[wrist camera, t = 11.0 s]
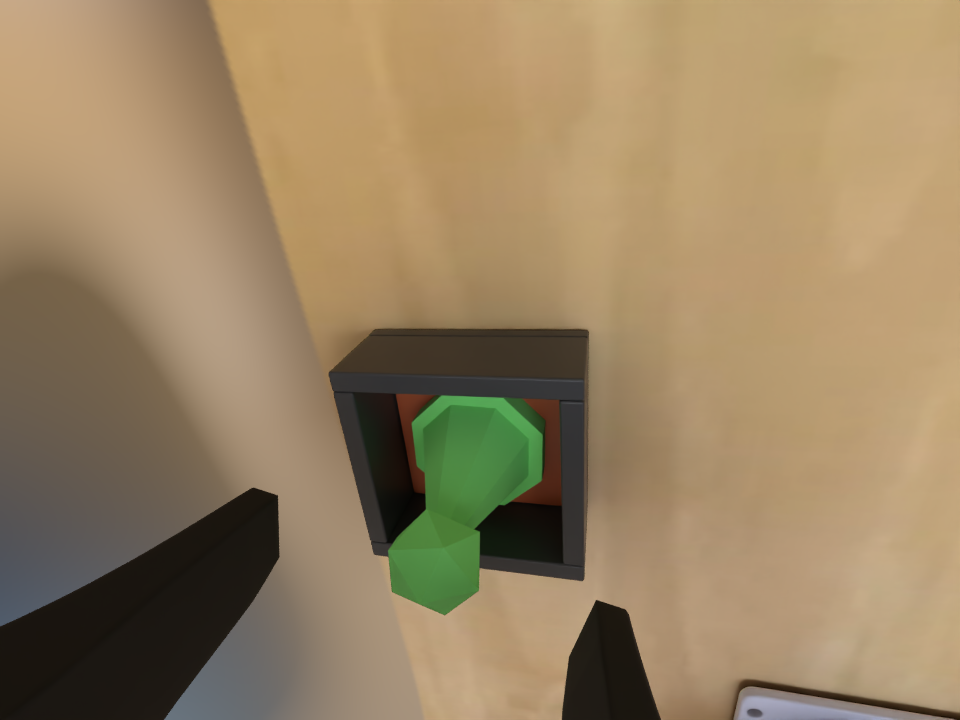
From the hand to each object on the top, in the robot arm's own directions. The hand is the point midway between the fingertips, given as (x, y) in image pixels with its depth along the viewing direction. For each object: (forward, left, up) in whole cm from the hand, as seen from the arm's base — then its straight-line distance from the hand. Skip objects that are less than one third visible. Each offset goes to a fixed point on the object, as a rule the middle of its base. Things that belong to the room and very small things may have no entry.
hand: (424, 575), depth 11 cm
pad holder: (0, 0, -6) cm, 6 cm away
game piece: (0, 0, -6) cm, 6 cm away
